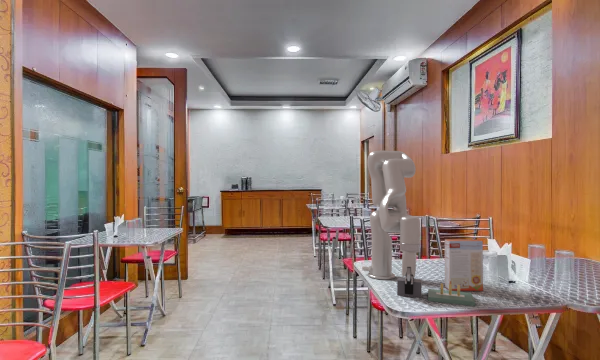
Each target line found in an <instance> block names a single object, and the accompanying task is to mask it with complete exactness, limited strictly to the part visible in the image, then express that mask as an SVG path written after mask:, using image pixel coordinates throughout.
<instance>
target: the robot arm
mask: <svg viewBox="0 0 600 360" xmlns="http://www.w3.org/2000/svg"><path fill="white" fill-rule="evenodd" d="M366 164H367V169H368V173H369V176H370V180H371V182H370V184H371V199H372V204H373V206H374V207H377V208H378V209H377V210H374V211H372V212H371V213H370V216H369V224H370V232H371V265H369V266H365V265H364V266H363V265H362V271H364V272H367V276H368V277H369V278H371V279H376V280H392V279H395V278H396V274H394V273H393V272H392V271H393V238H392V237H391V235H390V234H389V233H397V234H398V233H399V251H400V252H402V257H401V278H405V294H410V295H413V279H415V277H416V272H417V253H420V251H421V249H420V248H421V243H420V242H421V237H420V235H421V223H420V222H421V221H420V218H419V217H417V216H413V215H411V214H408V213H407V212H408V210H407V197H406V193H407V187H406V181H405V178H409V179H410V178H413V177H414V176H415V175H416V165H415V162H414V160H413V159H412V158H411V157H410V156H409V155H407V154H406V153H405V152H403V151H399V150H373V151H370V153H369V154H368V156H367V163H366ZM389 208H393V210H391V209H389Z"/></svg>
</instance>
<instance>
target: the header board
mask: <svg viewBox="0 0 600 360" xmlns="http://www.w3.org/2000/svg"><path fill="white" fill-rule="evenodd" d="M439 288H440V289H435V288H428V289H427V294H428V296H427V301H428V302H434V303H442V304H443V303H444V304H452V305H453V304H455V305H461V306H471V307H476V301H475V299H474V296H473V294H472V292H468V291H460V285H457V291H452V284H449V290H448V289H447V290H446V289H444V283H440V287H439Z"/></svg>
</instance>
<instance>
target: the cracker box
mask: <svg viewBox="0 0 600 360" xmlns="http://www.w3.org/2000/svg"><path fill="white" fill-rule="evenodd" d="M483 243H484V242H483V240H480V239H477V238H474V239H473V238H472V239H470V238H467V239H466V238H465V239H464V238H445V239H444V287H445V289H447V291H449V284H452V291H457V285H460V292H483V291H484V258H483V257H484V255H483V253H484V248H483V247H484V244H483Z"/></svg>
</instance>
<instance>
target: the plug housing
mask: <svg viewBox="0 0 600 360" xmlns="http://www.w3.org/2000/svg"><path fill="white" fill-rule="evenodd" d="M396 282H397V283H396V284H397V285H396V291H397V292H396V293H397V294H396V295H397V296H398V297H400V296H401V297H410V298H416V297H417V298H418V299H422V285H423V284H422V283H423V282H422V279H419V278H414V279H413V295H410V294H405V277H397V280H396Z"/></svg>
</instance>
